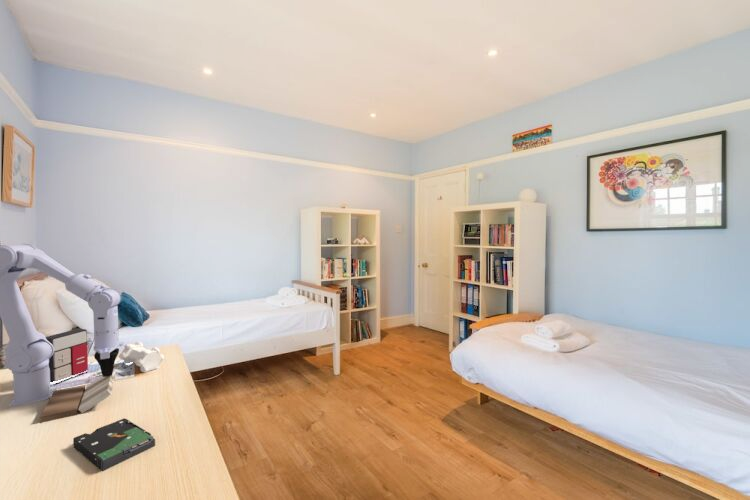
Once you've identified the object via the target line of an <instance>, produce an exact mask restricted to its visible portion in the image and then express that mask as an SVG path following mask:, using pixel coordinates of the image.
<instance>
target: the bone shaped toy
mask: <svg viewBox="0 0 750 500" xmlns="http://www.w3.org/2000/svg"><path fill="white" fill-rule="evenodd" d="M123 346H124V348H123V350H122V352H119V354H118V358H119V359H120V360H123V363H124V362H125V363H130V362H133V364H135V365H136V366H137V367H139V369H140V372H141V373H148V372H149V371H155V370H159V368H160V365H161V363H162V362H163V360H164V359H165V356H164V354H162V353H161V350H160V349H159V347H156V346H154V347H152V349H147V348H145V347H144V344H143V343H142V342H141V341H136V342H135V343H133V344H132V343H126V344H124V345H123Z"/></svg>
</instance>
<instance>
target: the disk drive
mask: <svg viewBox="0 0 750 500" xmlns="http://www.w3.org/2000/svg"><path fill="white" fill-rule="evenodd" d="M72 442H73V443H72V444H73V449H75V451H77V453H78V452H79V454H81V456H83V457H84V458H85V459H87V460H88V461H89V462H91V463H92V465H94V466H95V468H97V469H98V470H99V471H100V472H104V471H106V470H109V469H111V468H113V467H115V466H117V465H118V464H119V465H120V464H121V463H123V462H125V461H127V460H128V459H131V458H134V457H135V456H137V455H139V454H141V453H144V452H146V451H148V450H150V449H152V448H155V446H156V438H154V436H153V435H152V433H150V432H148V431H146V430H145V429H143V428H142V427H140V426H139V425H137V424H135V423H133V422H132V421H131V420H129V419H127V418H121V419H119V420H116V421H114V422H111V423H109V424H106V425H104V426H101V427H98V428H96V429H95V430H94V431H93V432H91V433H83V434H80V435H78V436H75V437H74V438H73V441H72Z"/></svg>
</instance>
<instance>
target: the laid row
mask: <svg viewBox="0 0 750 500" xmlns="http://www.w3.org/2000/svg"><path fill="white" fill-rule="evenodd" d="M85 389H86V385H81V386H76V387H75V386H74V387H70V388H64V389H59V390H53V392H52V394H51V396H50V397H49V399H48V402H47V403H46V405H45V407H44V409H43V410H42V413H41V414H40V416H39V423H40V424H41V423H47V422H50V421H55V420H60V419H64V418H69V417H74V416H78V413H79V410H78V409H79V406H80V403H81V401H82V398H83V395H84V392H85Z"/></svg>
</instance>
